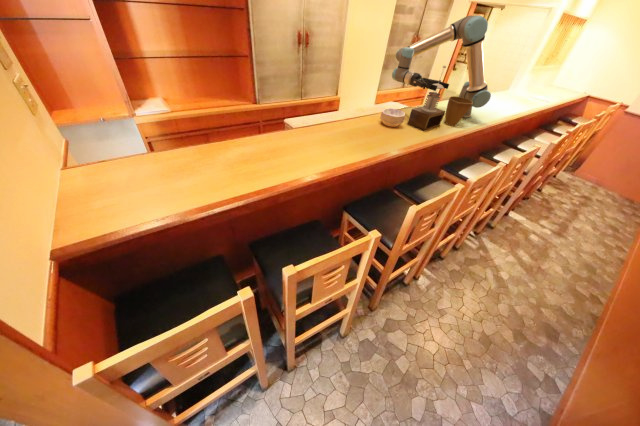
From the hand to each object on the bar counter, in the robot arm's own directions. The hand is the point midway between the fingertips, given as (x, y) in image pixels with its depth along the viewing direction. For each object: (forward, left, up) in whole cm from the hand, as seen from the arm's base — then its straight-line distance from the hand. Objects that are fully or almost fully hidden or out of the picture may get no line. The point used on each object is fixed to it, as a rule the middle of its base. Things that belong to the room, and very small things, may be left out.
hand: (442, 87), depth 146 cm
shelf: (0, -3, -24) cm, 24 cm away
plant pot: (-23, +4, -24) cm, 34 cm away
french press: (0, -3, -14) cm, 15 cm away
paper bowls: (+21, -15, -24) cm, 35 cm away
